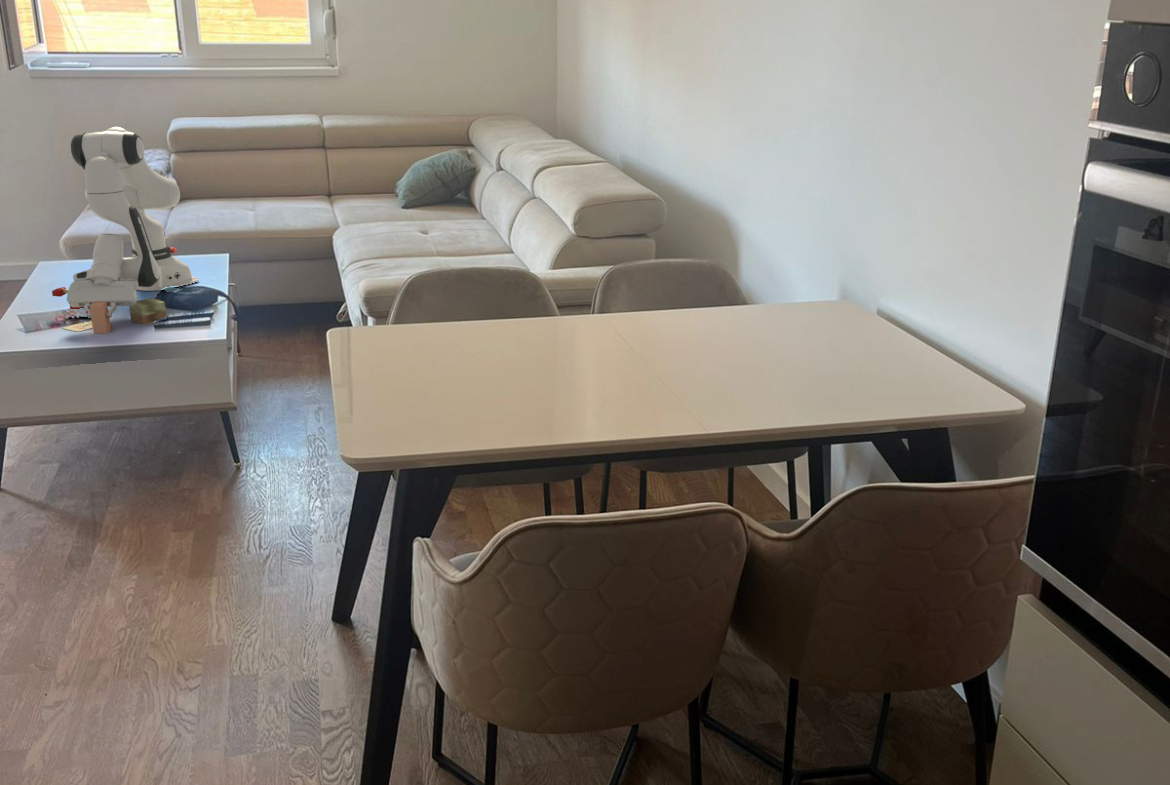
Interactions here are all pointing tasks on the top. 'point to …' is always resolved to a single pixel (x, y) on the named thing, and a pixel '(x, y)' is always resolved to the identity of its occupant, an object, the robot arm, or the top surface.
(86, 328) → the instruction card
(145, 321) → the tower base
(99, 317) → the terracotta column block
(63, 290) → the toy fire truck
